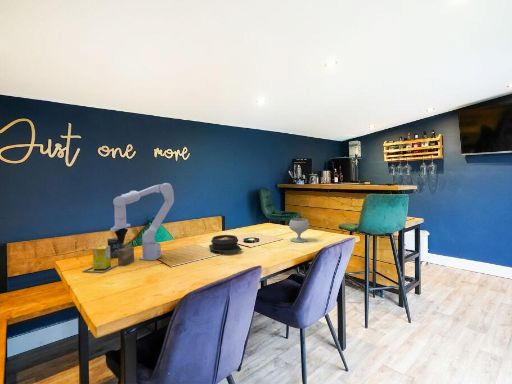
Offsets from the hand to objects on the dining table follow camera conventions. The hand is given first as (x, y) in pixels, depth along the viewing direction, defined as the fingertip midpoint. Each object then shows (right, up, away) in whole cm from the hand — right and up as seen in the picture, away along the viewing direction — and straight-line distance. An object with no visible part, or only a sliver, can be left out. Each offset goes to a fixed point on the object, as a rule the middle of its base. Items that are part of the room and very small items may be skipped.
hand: (121, 242), depth 157 cm
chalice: (+105, -7, +45) cm, 114 cm away
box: (-7, -10, +8) cm, 14 cm away
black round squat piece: (+55, -9, +20) cm, 59 cm away
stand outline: (-3, -11, -14) cm, 18 cm away
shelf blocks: (-2, -10, -4) cm, 11 cm away
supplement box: (-3, -11, -13) cm, 18 cm away
